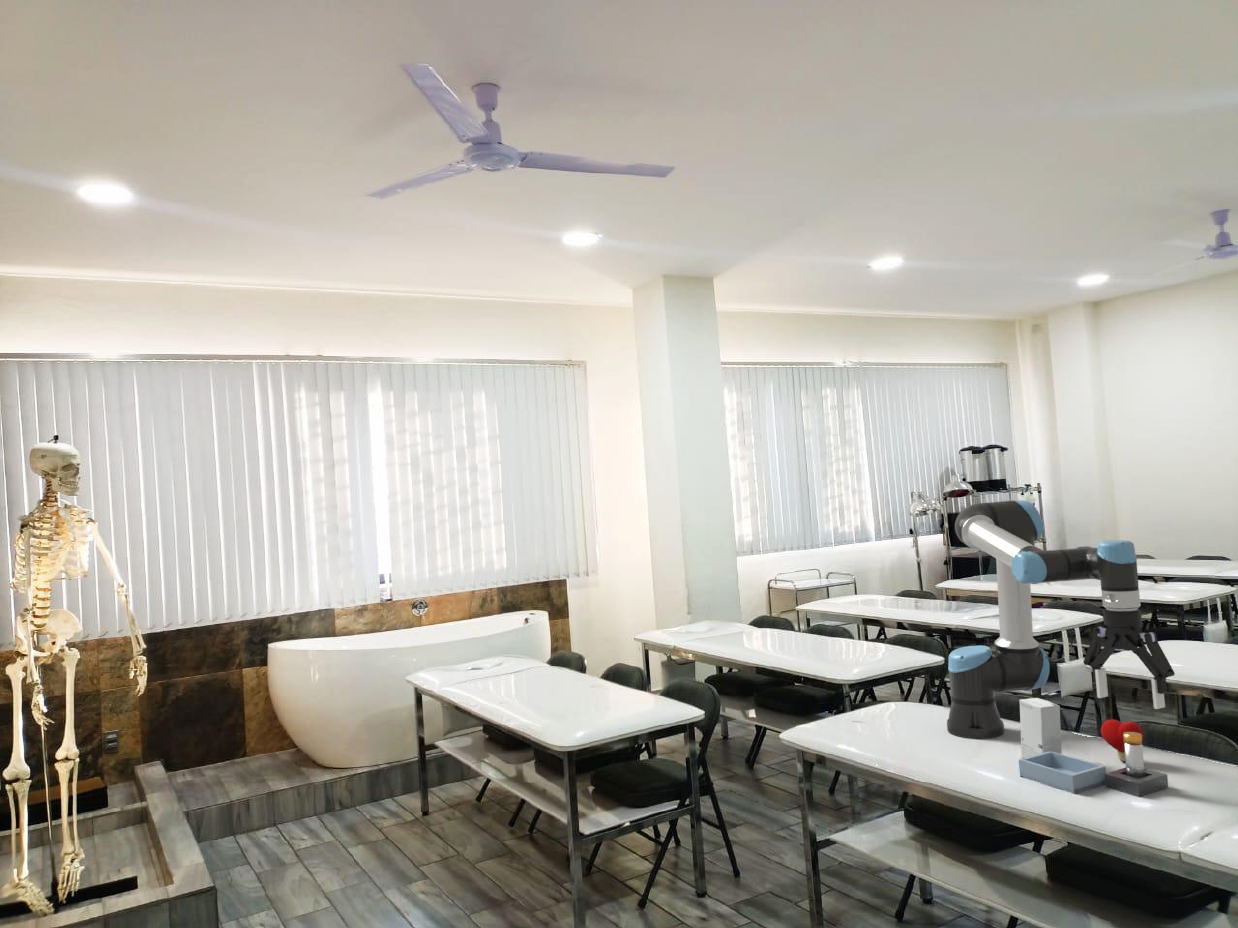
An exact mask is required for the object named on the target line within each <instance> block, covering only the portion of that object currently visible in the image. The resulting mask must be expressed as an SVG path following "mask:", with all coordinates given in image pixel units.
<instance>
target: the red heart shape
mask: <svg viewBox="0 0 1238 928" xmlns="http://www.w3.org/2000/svg"><path fill="white" fill-rule="evenodd" d="M1125 732H1136V733H1140V734H1141V735H1142V742H1143V741H1144V732H1143V730H1142V728H1141V727H1140V725H1138V724H1137V723H1136V722H1134V721H1126V722H1122V721H1119V720H1117V719H1113V718H1112V719H1108V720H1106V721H1104V722H1103V724H1102V725H1101V728H1100V734H1101V736H1102V738H1103V740H1104V742H1106V743H1107V744H1108V745H1109V746H1111V747H1112V748H1113V749H1114V750H1116V753H1117V759H1118V760H1120V761H1121V762H1122V763H1126V760H1125V749H1124V737H1123V733H1125Z"/></svg>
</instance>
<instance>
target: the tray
mask: <svg viewBox="0 0 1238 928" xmlns="http://www.w3.org/2000/svg"><path fill="white" fill-rule="evenodd" d="M1018 766H1019V768H1018V769H1019V777H1021V776H1023V777H1022V778H1024V777H1026V778H1025V779H1027V778H1028V779H1027V780H1030V779H1031V780H1030V781H1033V780H1034V782H1036V781H1037V783H1039V782H1040V783H1039V784H1043V785H1045V784H1046V786H1049V787H1052V788H1055V789H1058V790H1062V791H1064V790H1065V792H1068V793H1070V792H1071V794H1073V795H1074V794H1077V793H1081V792H1084V791H1087V790H1091V789H1093V788H1097V787H1101V786H1103V785H1106V783H1105V773H1107V767H1106V766H1105V765H1103V764H1099V763H1095V762H1092V761H1088V760H1084V759H1082V758H1081V759H1080V758H1078V757H1074V756H1070V755H1066V754H1064V753H1063V754H1060V753H1056V752H1053V751H1049V752H1045V753H1041V754H1038V755H1034V756H1030V757H1026V758H1023V757H1022V758H1020V759H1018Z"/></svg>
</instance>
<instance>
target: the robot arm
mask: <svg viewBox="0 0 1238 928" xmlns="http://www.w3.org/2000/svg"><path fill="white" fill-rule="evenodd" d="M954 530H955V534H956V536H957V537H958V539H959V541H961V543H963V544H964V545H965V546H966V547H969V548H970V549H974V550H979V549H980V550H981V551H983V552H985V553H986V554H987V555H990V556H992V557H993V558H995V560H996V562H995V563H996V564H995V565H996V580H997V581H996V582H997V583H996V584H997V601H998V602H997V604H998V619H999V620H998V621H999V637H998V638H997V639H996V640H995V641H994V649H993V650H992V649H991V647H990V646H986V645H968V646H963V647H958V648H955V649H954V650H952V651H951V652H950V654H949V655H948V666H947V668H948V675H949V686H950V687H949V688H950V696H951V697H950V699H951V705H950V709H949V713H948V718H947V720H946V728H947V729H946V731H947V732H949V734H952V735H954V736H958V737H961V738H969V739H989V738H990V739H991V738H996V737H1000V736H1002V735H1004V734H1005V724H1004V721H1003V720H1002V718H1001V715H1000V712H999V710H998V707H997V704H996V696H995V695H996V694H995V693H1005V692H1017V691H1018V692H1019V691H1024V692H1025V691H1031V690H1034V689H1035V690H1036V689H1039V688H1042V687H1043V686H1044V685H1045V684H1046V682H1047V681H1048V679H1049V675H1050V662H1049V658H1048V655H1047V652H1046V651H1045V650H1044V649H1043V648H1042V647H1040V643H1039V641H1037V640H1036V639H1035V638H1034V636H1033V635H1034V634H1033V632H1034V631H1033V614H1032V612H1033V611H1032V610H1033V609H1032V593H1031V590H1032V589H1031V585H1037V584H1038V585H1039V584H1044V583H1055V582H1056V583H1057V582H1069V581H1083V580H1097V581H1098V580H1099V581H1100V588H1101V589H1100V591H1101V602H1102V607H1104V610H1103V611H1102V612H1103V622H1104V623H1103V624H1104V625H1105V627H1104V626H1097V627H1093V629H1092V639H1091V641H1090V643H1089V645H1088V649H1087V650H1086V654H1085V656H1084V659H1083V665H1085V666H1088V667H1090V668H1091V669H1092V679H1093V682H1094V683H1095V684H1096V685H1095V687H1096V698H1098V699H1102V698H1106V697H1109V693H1108V692H1109V691H1108V682H1107V681H1108V680H1107V679H1108V678H1107V670H1106V668H1105V667H1104V665H1105V663H1107V660H1108V659H1109V658H1110V657H1111V656H1112V655H1113V653H1114V652H1115V650H1124V651H1127V652H1132V653H1133V654H1135V655H1136V656H1137V657H1138V658H1139V659H1140V661H1141V663H1142V664H1143V665H1144V666H1145V667H1146V669H1147V670H1148V671H1149V672H1150V674H1151V675H1152V676H1153V677H1152V678H1151V679H1150V681H1151V682H1150V683H1151V692H1152V701H1153V709H1155V710H1159V709H1162V708H1166V703H1165V694H1166V693H1167V691H1168V690H1167V688H1168V686H1167V678H1170V677H1173V676H1175V674H1176V673H1175V670H1173V667H1172V665H1171V664H1170V662H1169V660H1168V658H1167V656H1166V654H1165V652H1164V651H1163V649H1162V647H1161V646H1160V643H1159V640H1158V636H1157V633H1156V632H1155V631H1150V632H1143V630H1142V625H1143V619H1142V611H1141V610H1140V609H1139V608H1140V607H1141V605H1142V604H1141V598H1140V597H1141V595H1140V589H1139V575H1138V574H1139V573H1138V562H1137V560H1138V557H1137V555H1136V549H1135V544H1134V542H1132V541H1131V540H1126V539H1125V540H1122V539H1121V540H1120V539H1119V540H1118V539H1115V540H1114V539H1113V540H1103V541H1099V542H1098V543H1097V547H1091V546H1087V545H1086V546H1085V545H1084V546H1076V547H1073V548H1066V549H1053V550H1052V549H1051V550H1044V549H1041V548H1039V547H1037V546H1036V545H1035V542H1036V541H1038V540H1040V539H1041V538H1042V536H1043V532H1044V525H1043V521H1042V516H1041V514H1040V512H1039V511H1038V509H1037V507H1035V505H1034V504H1033V503H1032V502H1030V501H1027V500H1003V501H1002V500H1001V501H994V502H993V501H991V502H980V503H974V504H971V505H969V506H966V507H965V508H963V509H962V510H961V511H960V512H959V513H958V515H957V516H956V519H955V522H954ZM1105 637H1106V638H1107V639H1108V640H1107V641H1106V642H1105V644H1104V645H1103V642H1104V640H1105ZM1144 643H1145V644H1144ZM1102 645H1103V646H1104V647H1103V648H1102V649H1101V647H1102Z"/></svg>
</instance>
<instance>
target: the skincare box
mask: <svg viewBox="0 0 1238 928" xmlns="http://www.w3.org/2000/svg"><path fill="white" fill-rule="evenodd" d="M1060 707H1061V706H1060V705H1058V704H1056V703H1053V702H1051V701H1049V700H1046V699H1042V698H1039V697H1031V698H1024V699H1023V698H1022V699H1019V717H1020V718H1019V719H1020V720H1019V722H1020V724H1019V725H1020V752H1021V754H1020V755H1021V758H1022V759H1023V758H1026V757H1030V756H1034V755H1038V754H1041V753H1045V752H1049V751H1053V752H1056V753H1060V754H1062V753H1063V751H1062V733H1061V731H1062V729H1061V728H1062V727H1061V708H1060Z"/></svg>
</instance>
